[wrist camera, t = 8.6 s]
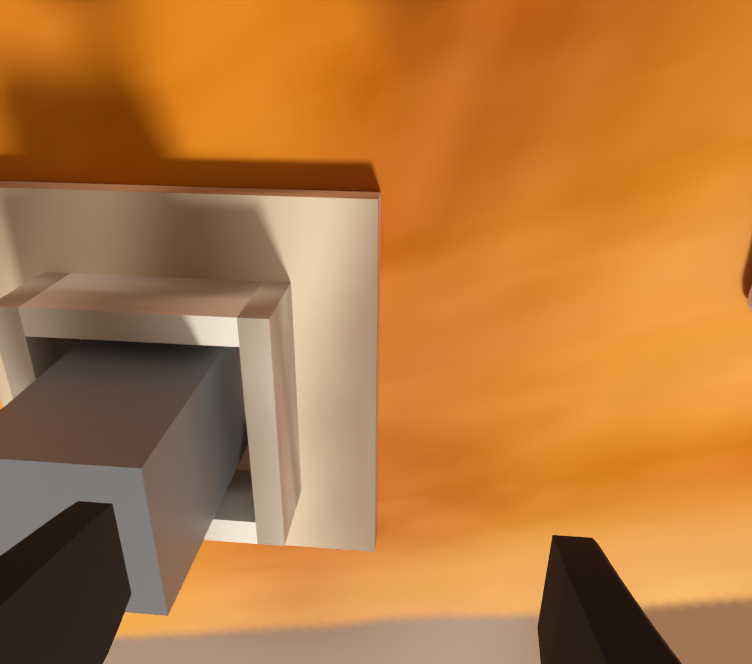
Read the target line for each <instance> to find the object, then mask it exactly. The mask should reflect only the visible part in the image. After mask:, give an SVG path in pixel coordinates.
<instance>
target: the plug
mask: <svg viewBox="0 0 752 664" xmlns="http://www.w3.org/2000/svg"><path fill="white" fill-rule="evenodd" d="M247 446H248V439H247V428H246V418H245V407H244V396H243V385H242V374H241V363H240V352H239V347H228V346H208V345H188V344H168V343H148V342H129V341H109V340H89V339H82V340H81V341H80V342H79V343H78V344H77V345H75V346H74V347H73V348H72V349H71V350H70V351H68V352H67V353H66V354H65V355H64V356H63V357H61V358H60V359H59V360H58V361H57V362H56V363H54V364H53V365H52V366H51V367H50V368H49V369H48V370H46V371H45V372H44V373H43V374H42V375H41V376H39V377H38V378H37V379H36V380H35V381H34V382H32V383H31V384H30V385H29V386H28V387H27V388H25V389H24V390H23V391H22V392H21V393H20V394H18V395H17V396H16V397H15V398H14V399H13V400H12V401H10V402H9V403H8V404H7V405H6V406H5V407H3V408H2V409H1V410H0V556H1V555H2V554H4V553H5V552H6V551H8V550H9V549H10V548H12V547H13V546H15V545H16V544H17V543H19V542H20V541H21V540H23V539H24V538H26V537H27V536H28V535H30V534H31V533H33V532H34V531H35V530H37V529H38V528H39V527H41V526H42V525H44V524H45V523H46V522H48V521H49V520H51V519H52V518H53V517H55V516H56V515H58V514H59V513H61V512H62V511H63V510H65V509H66V508H68V507H69V506H71V505H72V504H74V503H76V502H77V501H84V502H98V503H112V504H113V508H114V513H115V518H116V522H117V527H118V532H119V537H120V541H121V546H122V551H123V556H124V560H125V565H126V570H127V575H128V579H129V584H130V589H131V597H130V599H129V602H128V604H127V607H126V610H125V612H131V613H143V614H154V615H166V616H168V614H169V612H170V610H171V608H172V606H173V604H174V601H175V599H176V597H177V595H178V593H179V591H180V589H181V586H182V584H183V582H184V580H185V578H186V576H187V574H188V572H189V569H190V567H191V565H192V563H193V561H194V559H195V557H196V554H197V552H198V550H199V548H200V546H201V544H202V542H203V540H204V537H205V535H206V533H207V531H208V529H209V527H210V525H211V522H212V520H213V518H214V516H215V514H216V512H217V510H218V508H219V505H220V503H221V501H222V499H223V497H224V495H225V493H226V490H227V488H228V486H229V484H230V482H231V480H232V478H233V476H234V473H235V471H236V469H237V467H238V465H239V463H240V461H241V458H242V456H243V454H244V452H245V450H246V448H247Z"/></svg>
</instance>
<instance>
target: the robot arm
mask: <svg viewBox="0 0 752 664" xmlns="http://www.w3.org/2000/svg"><path fill="white" fill-rule="evenodd" d="M748 306H749V308H750V310H751V311H752V285H751V289H750V292H749V296H748ZM130 597H131V589H130V584H129V579H128V575H127V570H126V565H125V560H124V556H123V551H122V546H121V541H120V537H119V532H118V527H117V522H116V518H115V513H114V508H113V504H112V503H98V502H84V501H77V502H76V503H74V504H72V505H71V506H69V507H68V508H66V509H65V510H63V511H62V512H61V513H59V514H58V515H56V516H55V517H53V518H52V519H51V520H49V521H48V522H46V523H45V524H44V525H42V526H41V527H39V528H38V529H37V530H35V531H34V532H33V533H31V534H30V535H28V536H27V537H26V538H24V539H23V540H21V541H20V542H19V543H17V544H16V545H15V546H13V547H12V548H10V549H9V550H8V551H6V552H5V553H4V554H2V555H1V556H0V664H103V662H104V660H105V658H106V656H107V654H108V652H109V649H110V647H111V645H112V642H113V640H114V637H115V635H116V633H117V630H118V628H119V625H120V623H121V620H122V617H123V615H124V612H125V610H126V607H127V604H128V602H129V599H130ZM538 637H539V648H540V659H541V664H682V663H681V662H680V661H679V659H678V658H677V657H676V655H675V654H674V653H673V651H672V650H671V649H670V648H669V646H668V645H667V643H666V642H665V641H664V639H663V638H662V637H661V635H660V634H659V633H658V632H657V630H656V629H655V627H654V626H653V624H652V623H651V622H650V620H649V619H648V618H647V616H646V615H645V613H644V612H643V610H642V609H641V608H640V606H639V605H638V603H637V602H636V600H635V599H634V598H633V596H632V595H631V593H630V592H629V590H628V589H627V587H626V586H625V584H624V583H623V581H622V580H621V578H620V577H619V575H618V574H617V572H616V571H615V569H614V568H613V566H612V565H611V563H610V562H609V560H608V559H607V557H606V556H605V554H604V553H603V551H602V549H601V548H600V546H599V545H598V544H597V542H596V541H595V540H594V539H593V538H586V537H572V536H558V535H553V536H552V542H551V549H550V555H549V561H548V567H547V573H546V579H545V585H544V591H543V598H542V604H541V610H540V616H539V622H538Z"/></svg>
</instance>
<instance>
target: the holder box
mask: <svg viewBox="0 0 752 664" xmlns="http://www.w3.org/2000/svg"><path fill="white" fill-rule="evenodd" d="M380 217H381V192H358V191H324V190H291V189H257V188H224V187H190V186H157V185H123V184H90V183H56V182H23V181H0V398H1V402H2V405H3V407H5V406H6V405H7V404H8V403H9V402H10V401H12V400H13V399H14V398H15V397H16V396H17V395H18V394H20V393H21V392H22V391H23V390H24V389H25V388H27V387H28V386H29V385H30V384H31V383H32V382H34V381H35V380H36V379H37V378H38V377H39V376H41V375H42V374H43V373H44V372H45V371H46V370H48V369H49V368H50V367H51V366H52V365H53V364H54V363H56V362H57V361H58V360H59V359H60V358H61V357H63V356H64V355H65V354H66V353H67V352H68V351H70V350H71V349H72V348H73V347H74V346H75V345H77V344H78V343H79V342H80V341H81V340H82V339H89V340H109V341H129V342H148V343H168V344H188V345H208V346H228V347H239V352H240V363H241V374H242V385H243V396H244V407H245V418H246V428H247V439H248V446H247V448H246V450H245V452H244V454H243V456H242V458H241V461H240V463H239V465H238V467H237V469H236V471H235V473H234V476H233V478H232V480H231V482H230V484H229V486H228V488H227V490H226V493H225V495H224V497H223V499H222V501H221V503H220V505H219V508H218V510H217V512H216V514H215V516H214V518H213V520H212V522H211V525H210V527H209V529H208V531H207V533H206V535H205V537H204V540H214V541H227V542H241V543H254V544H267V545H280V546H285V545H292V546H306V547H319V548H332V549H345V550H359V551H372V552H375V545H376V538H377V480H378V392H379V305H380Z"/></svg>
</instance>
